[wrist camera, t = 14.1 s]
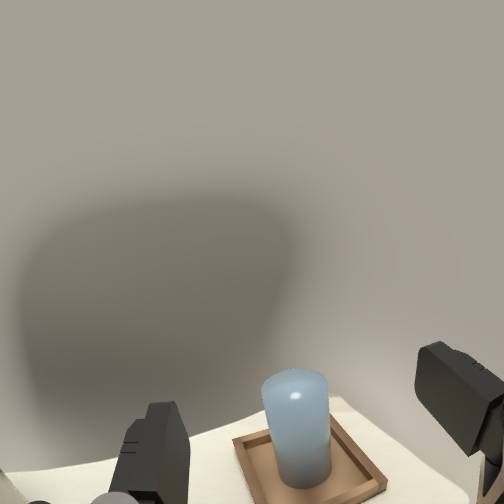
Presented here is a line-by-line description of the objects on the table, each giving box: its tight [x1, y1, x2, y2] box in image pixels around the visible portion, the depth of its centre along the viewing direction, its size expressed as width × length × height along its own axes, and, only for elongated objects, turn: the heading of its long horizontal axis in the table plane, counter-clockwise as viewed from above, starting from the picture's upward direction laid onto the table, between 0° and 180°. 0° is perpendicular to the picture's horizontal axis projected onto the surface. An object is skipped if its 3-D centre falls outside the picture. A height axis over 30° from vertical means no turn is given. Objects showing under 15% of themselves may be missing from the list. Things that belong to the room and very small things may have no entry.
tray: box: [232, 413, 388, 504], centre depth 27 cm, size 12×14×2 cm
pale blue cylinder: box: [261, 368, 332, 489], centre depth 26 cm, size 6×6×12 cm
